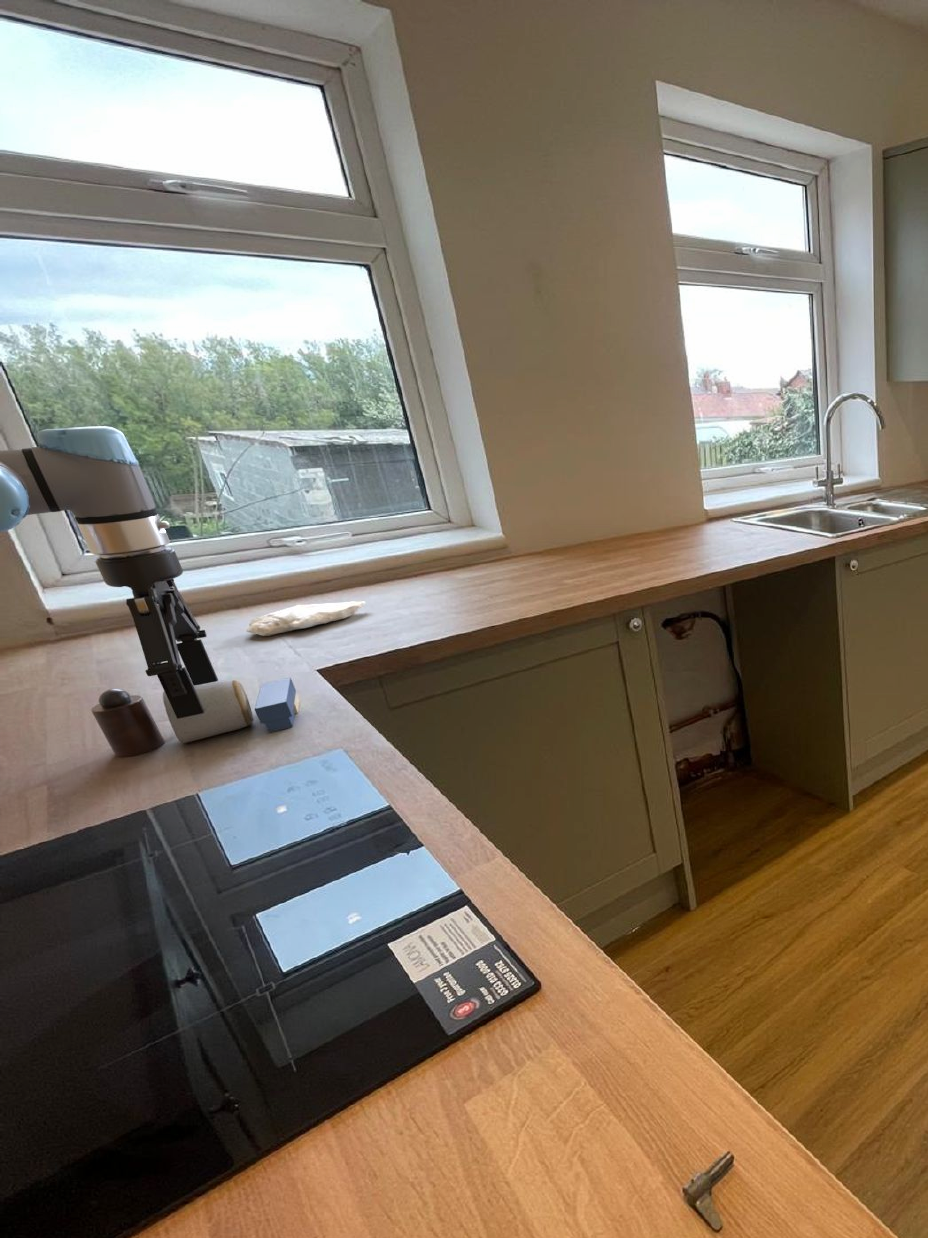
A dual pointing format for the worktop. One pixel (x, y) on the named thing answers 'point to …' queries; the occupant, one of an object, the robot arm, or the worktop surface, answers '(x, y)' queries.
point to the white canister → (213, 711)
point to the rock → (302, 617)
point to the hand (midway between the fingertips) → (199, 698)
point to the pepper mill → (126, 723)
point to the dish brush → (277, 704)
